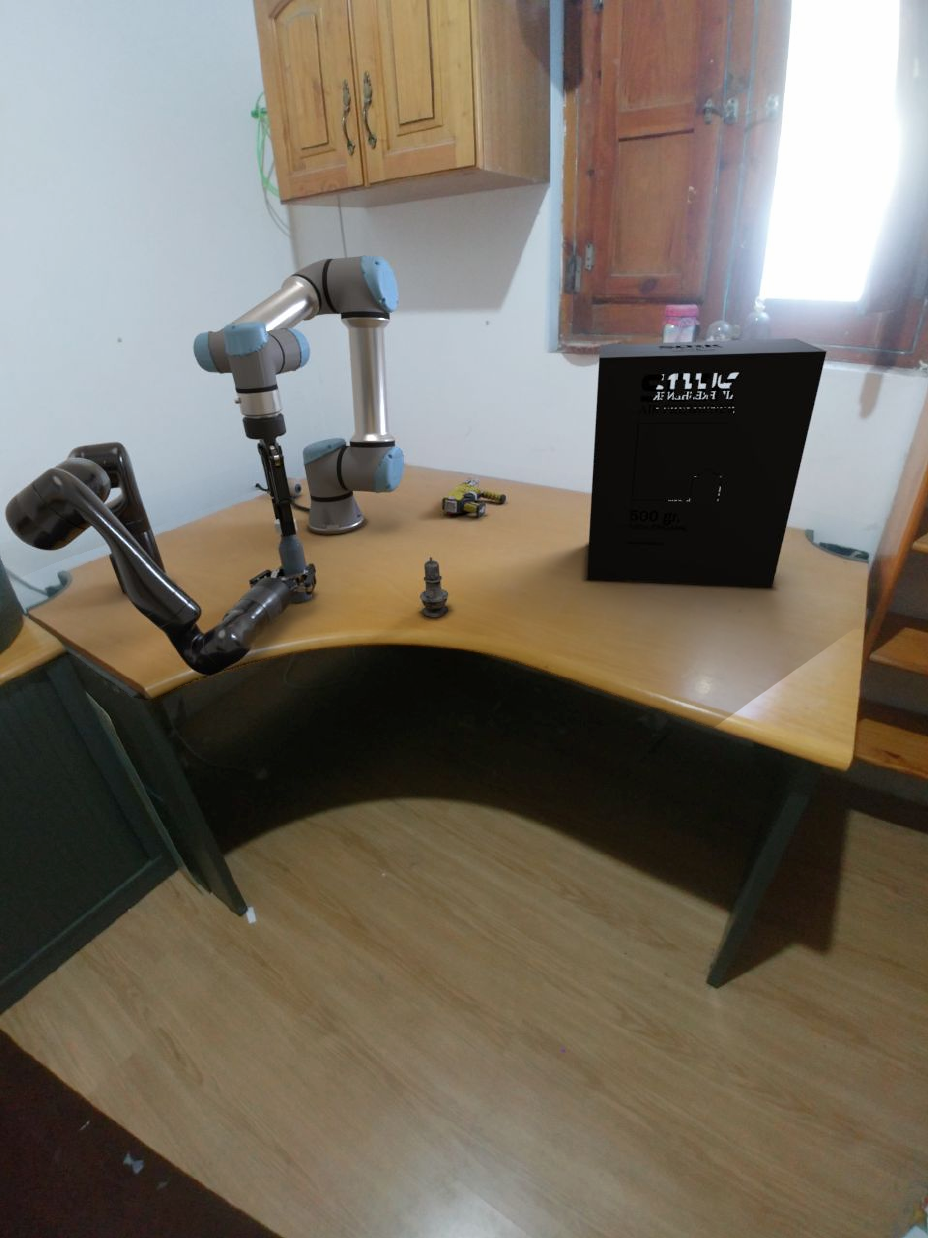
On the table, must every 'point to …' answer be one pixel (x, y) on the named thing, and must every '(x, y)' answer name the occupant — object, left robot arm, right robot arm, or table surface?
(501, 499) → the toy gun
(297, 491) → the eyeball
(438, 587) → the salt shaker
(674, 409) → the cardboard box
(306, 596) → the bottle
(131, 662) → the table surface
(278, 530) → the cap
